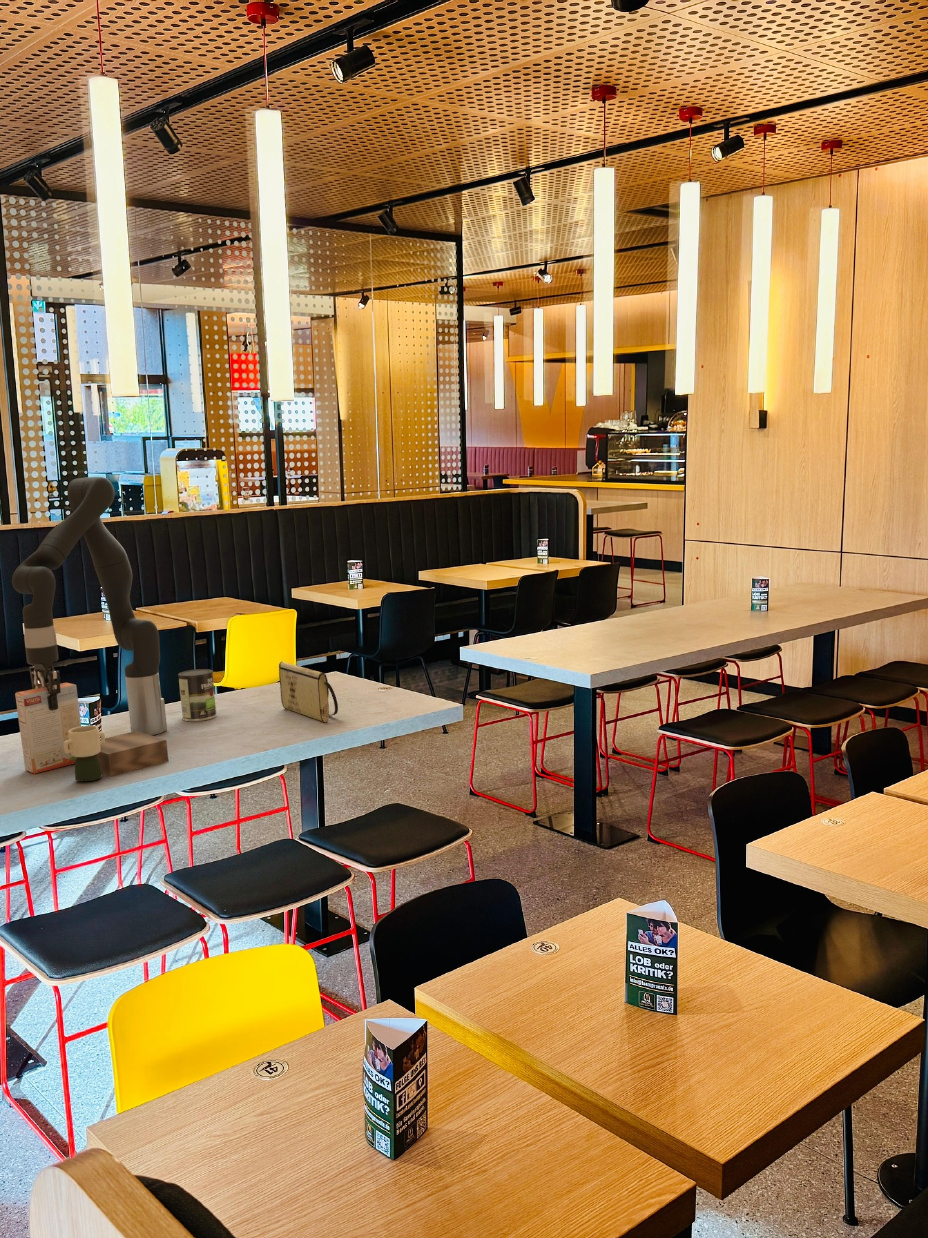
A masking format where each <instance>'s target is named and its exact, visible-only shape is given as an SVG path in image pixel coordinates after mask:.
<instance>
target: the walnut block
mask: <svg viewBox="0 0 928 1238" xmlns="http://www.w3.org/2000/svg"><path fill="white" fill-rule="evenodd" d="M100 741H101V738H100ZM100 746H101V749H100V752H99V753H98V754H96V756H97V757H98V760H99V764H100V768H101V772H102V775H103V774H104V775H107V776H109V777H112V776H117V775H120V774H124V773H128V772H132V771H134V770H135V771H136V770H138V769H142V768H147V767H150V766H154V765H158V764H162V763H165V762H169V754H168V742H167V739H165V738H161V737H158V736H155V735H148V734H145V733H141V732H138V731H134V732H131V731H130V732H126V733H122V734H118V735H117V734H116V735H113V736H109V737H105V743H104V744H102V745H100Z"/></svg>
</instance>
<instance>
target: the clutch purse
mask: <svg viewBox="0 0 928 1238" xmlns="http://www.w3.org/2000/svg"><path fill="white" fill-rule="evenodd" d="M278 675H279V677H278V679H279V687H280V688H279V690H280V698H281V699H280V700H281V706H282V707H283V709H285V710H289V711H292V712H296V713H297V714H301V715H304V716H305V717H309V718H312V719H315V720H318V721H321V722H323V723H325V724H326V723H328V721H329V718H330V705H329V694H330V695H331V697H332V700H333V705H334V711H333V713H332V714H331V716H335V715H337V713H338V711H339V704H338V699H337V696H336V694H335V691H334V689H333V687H332V685H331V684H330V682H328V677H327V675H326V673H324V672H321V671H317V670H314V669H310V668H307V667H302V666H299V665H295V664H292V663H288V662H284V661H280V662H279V663H278ZM329 692H330V693H329Z"/></svg>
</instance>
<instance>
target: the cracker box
mask: <svg viewBox="0 0 928 1238" xmlns="http://www.w3.org/2000/svg"><path fill="white" fill-rule="evenodd" d="M56 687H57V685H56ZM60 690H61V692H60V693H58V695H57V701H58V709H56V710H49V707H48V699H47V693H46V690H45V689H44V688H43V687H42V688H37V689H33V688H32V689H27V690H23V691H22V690H21V691H16V692H15V694H14V696H15V702H16V709H17V718H18V725H19V733H20V738H21V739H20V740H21V747H22V754H23V761H24V762H23V763H24V768H25V769H24V770H25V771H27V772H29V773H31V774H34V775H35V774H38V773H42V772H46V771H50V770H54V769H58V768H62V767H66V766H71V765H73V764H74V765H75V761H76V759H77V757H74V756H72V755H71V753H69V754H65V751H64V741H66V740H69V736H68V731H69V730H70V729H72V728H76V727H81V726H82V722H81V721H82V719H81V714H80V713H81V712H80V707H79V706H80V705H79V698H78V697H79V696H78V687H77V684H74V683H70V682H63V683H60ZM69 749H70V748H69V744H68V750H69Z"/></svg>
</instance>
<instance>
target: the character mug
mask: <svg viewBox="0 0 928 1238" xmlns="http://www.w3.org/2000/svg"><path fill="white" fill-rule="evenodd" d="M105 735H106V734H105V731H103V730H102V731H99V726H97V725H83V726H82V725H81V727H76V728H72V729H70V730H69V731H68V736H69V740H66V741H64V751H65V754H69V753H71V755H72V756H74V757H77V759H76V761H75V764H74V767H75V768H74V779H75V780H74V781H81V782H87V781H89V782H90V781H95V780H98V779H100V778H101V777H102V776H103V773H102V772H101V768H100V764H99V760H98V757H97V756H96V754H98V753H99V752H100V749H101V746H100V745H102V744H104V743H105V738H106V737H105ZM100 739H101V741H100ZM68 744H69V748H70V749H69V750H68Z"/></svg>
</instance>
